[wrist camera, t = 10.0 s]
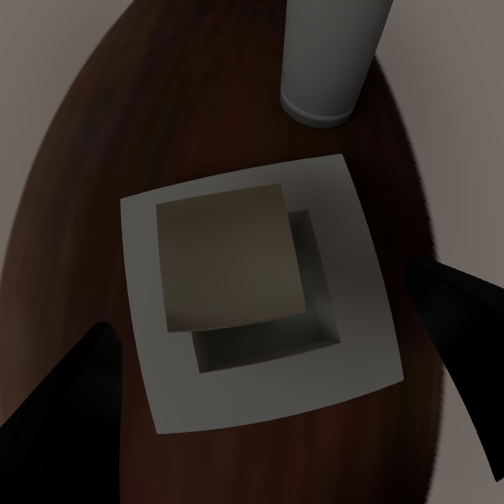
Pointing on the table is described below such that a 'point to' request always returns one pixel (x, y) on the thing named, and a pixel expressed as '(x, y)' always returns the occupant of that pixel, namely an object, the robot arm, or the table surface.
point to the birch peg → (228, 260)
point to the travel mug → (328, 57)
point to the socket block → (275, 332)
